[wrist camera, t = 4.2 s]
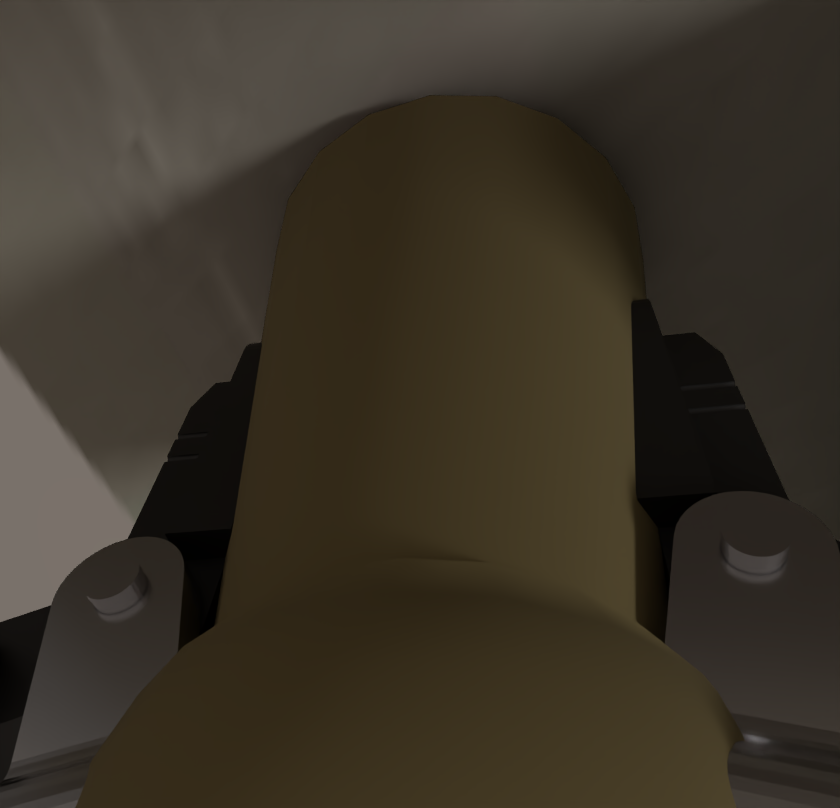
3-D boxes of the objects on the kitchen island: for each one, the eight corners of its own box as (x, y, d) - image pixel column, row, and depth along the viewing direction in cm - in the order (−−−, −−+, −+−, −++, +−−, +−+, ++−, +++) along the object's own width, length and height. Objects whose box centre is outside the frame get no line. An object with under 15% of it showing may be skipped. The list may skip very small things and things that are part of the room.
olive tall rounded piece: (323, 434, 15) (111, 1297, 6) (229, 124, 11) (-586, 1155, 3) (640, 407, 14) (902, 1365, 5) (648, 62, 10) (1490, 1297, 2)
